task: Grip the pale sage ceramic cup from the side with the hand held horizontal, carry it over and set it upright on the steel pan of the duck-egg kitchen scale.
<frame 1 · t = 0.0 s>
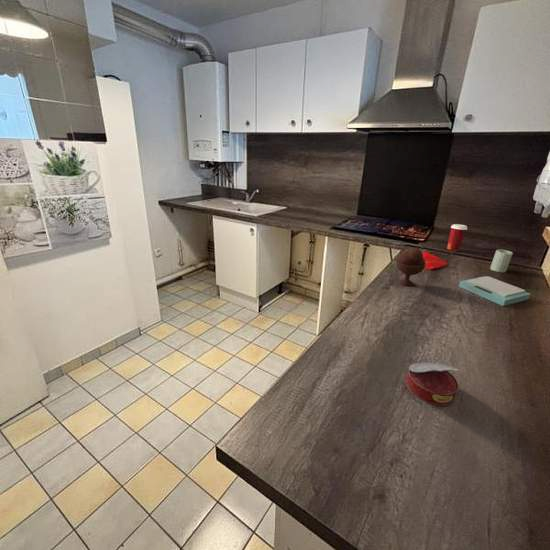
hand: (540, 214, 117), 27 cm above the worktop, tool pointing down, fingers open, 8 cm apart
cup: (497, 269, 135), on the worktop
ice cream bowl: (405, 283, 118), on the worktop
scale: (492, 292, 112), on the worktop
cloth: (431, 262, 143), on the worktop
paper cup: (452, 250, 161), on the worktop
canned food: (429, 388, 66), on the worktop
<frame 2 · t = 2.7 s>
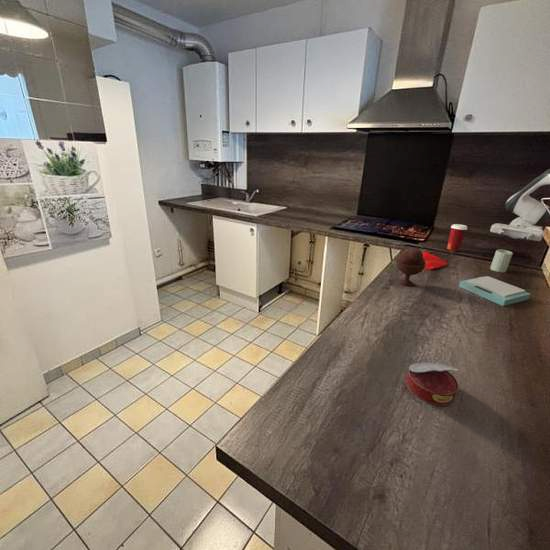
hand: (513, 235, 137), 15 cm above the worktop, tool horizontal, fingers open, 8 cm apart
nothing on the worktop moved.
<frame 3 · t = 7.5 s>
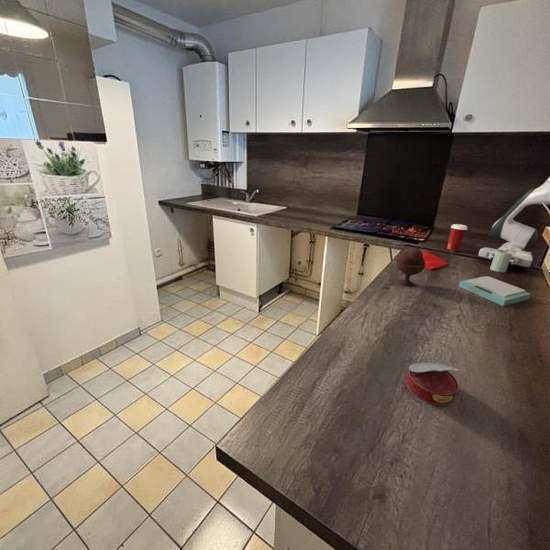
hand: (501, 260, 133), 5 cm above the worktop, tool horizontal, fingers closed on cup, 6 cm apart
cup: (497, 269, 135), on the worktop, touching gripper
everything else where it was.
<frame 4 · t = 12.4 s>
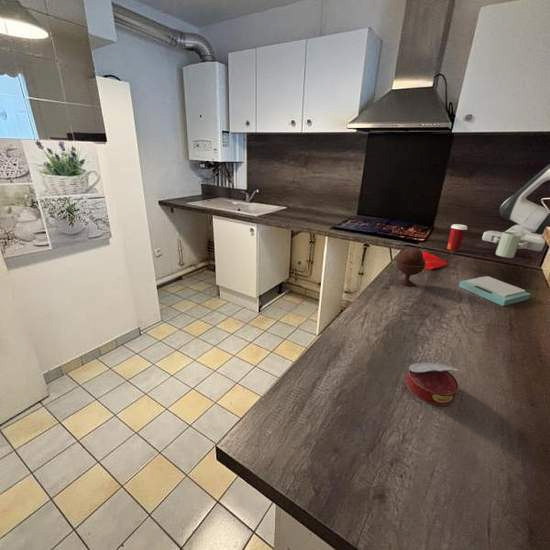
hand: (508, 243, 115), 17 cm above the worktop, tool horizontal, fingers closed on cup, 6 cm apart
cup: (504, 255, 117), point 12 cm above the worktop, touching gripper
everything else where it was.
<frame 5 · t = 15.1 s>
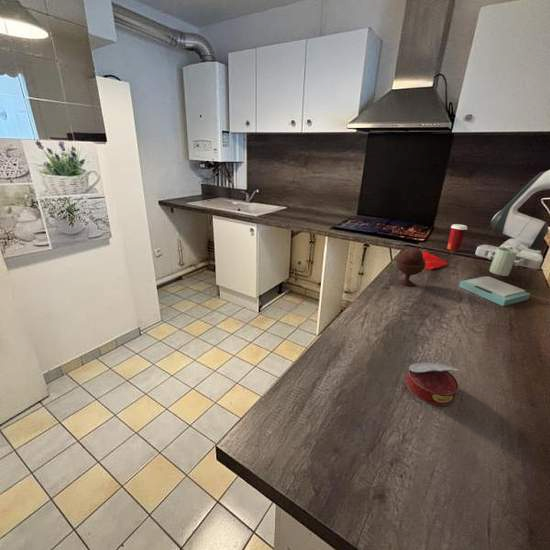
hand: (503, 260, 106), 13 cm above the worktop, tool horizontal, fingers closed on cup, 6 cm apart
cup: (498, 272, 109), point 8 cm above the worktop, touching gripper
everything else where it was.
when the fingers open (8 cm above the worktop, at t = 17.2 s): cup stays where it is, resting on scale.
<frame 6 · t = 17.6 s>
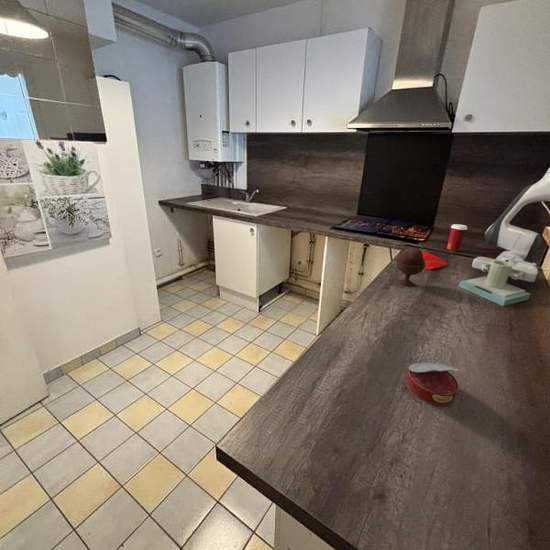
hand: (499, 273, 108), 8 cm above the worktop, tool horizontal, fingers open, 8 cm apart
cup: (494, 285, 111), point 3 cm above the worktop, touching scale
everything else where it was.
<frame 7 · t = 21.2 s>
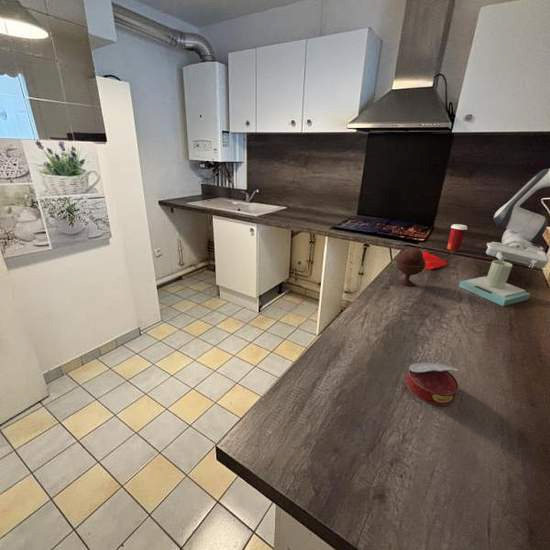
hand: (516, 263, 115), 10 cm above the worktop, tool horizontal, fingers open, 8 cm apart
nothing on the worktop moved.
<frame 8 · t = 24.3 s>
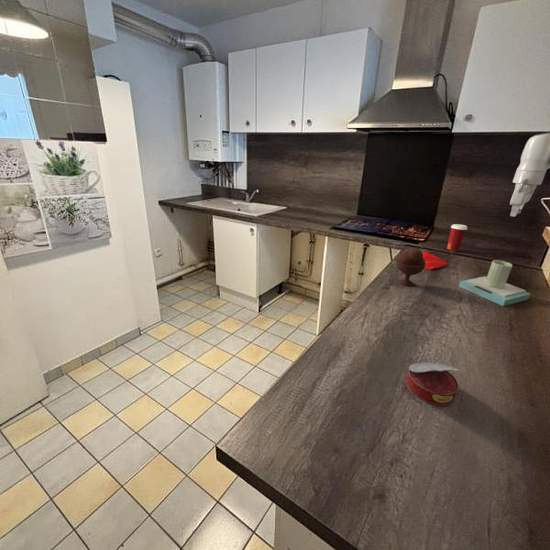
hand: (515, 214, 117), 27 cm above the worktop, tool pointing down, fingers open, 8 cm apart
nothing on the worktop moved.
at the end: cup inside the target area on the scale (0.8 cm from its centre), point 3.2 cm above the scale's base; cup tilted 0°; the gripper is holding nothing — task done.
